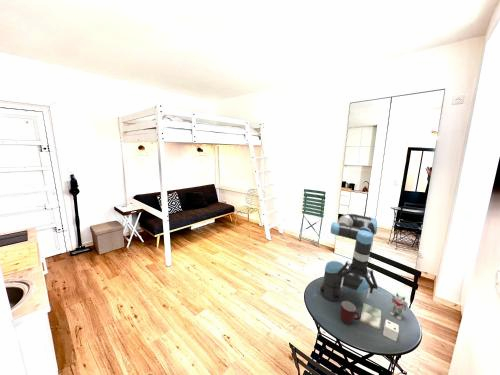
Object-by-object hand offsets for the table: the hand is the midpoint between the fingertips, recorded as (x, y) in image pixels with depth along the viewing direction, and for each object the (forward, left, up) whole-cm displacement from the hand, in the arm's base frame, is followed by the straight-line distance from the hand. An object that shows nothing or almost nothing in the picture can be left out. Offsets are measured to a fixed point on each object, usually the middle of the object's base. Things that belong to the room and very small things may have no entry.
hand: (354, 291), depth 115 cm
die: (+21, +5, -21) cm, 29 cm away
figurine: (+24, +23, -21) cm, 39 cm away
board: (+11, +12, -20) cm, 26 cm away
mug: (0, 0, -21) cm, 21 cm away
